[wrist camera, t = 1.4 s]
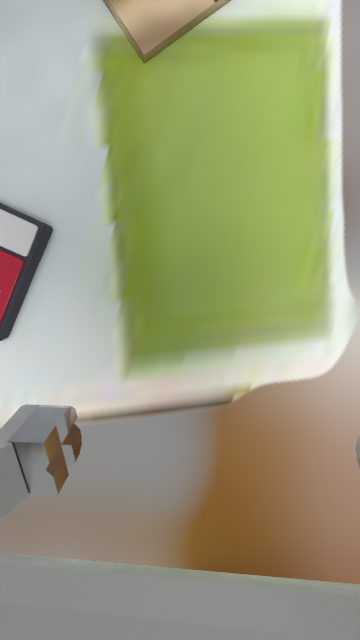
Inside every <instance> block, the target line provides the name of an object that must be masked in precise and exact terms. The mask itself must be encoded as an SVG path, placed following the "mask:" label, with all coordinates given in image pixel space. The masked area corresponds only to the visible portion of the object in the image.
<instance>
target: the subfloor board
mask: <svg viewBox="0 0 360 640" xmlns="http://www.w3.org/2000/svg"><path fill="white" fill-rule="evenodd" d="M103 1H104V2H105V4H106V5H107V7H108V8H109V10H110V12H111V13H112V15H113V16H114V18H115V19H116V21H117V22H118V24H119V25H120V27H121V28H122V30H123V32H124V33H125V35H126V36H127V38H128V39H129V41H130V42H131V44H132V45H133V47H134V48H135V50H136V51H137V53H138V55H139V56H140V58H141V59H142V61H143V62H144V63H145V62H147V61H148V60H149V59H151V58H152V57H153V56H155V55H156V54H158V53H159V52H160V51H162V50H163V49H164V48H166V47H167V46H169V45H170V44H171V43H173V42H174V41H175V40H177V39H178V38H179V37H181V36H182V35H184V34H185V33H186V32H188V31H189V30H190V29H192V28H193V27H195V26H196V25H197V24H199V23H200V22H201V21H203V20H204V19H206V18H207V17H208V16H210V15H211V14H212V13H214V12H215V11H217V10H218V9H219V8H221V7H222V6H223V5H225V4H226V3H228V2H229V1H230V0H116V1H114V0H103Z"/></svg>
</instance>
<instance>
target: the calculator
mask: <svg viewBox="0 0 360 640" xmlns="http://www.w3.org/2000/svg"><path fill="white" fill-rule="evenodd" d="M51 233H52V227H51V226H49V225H47V224H44V223H42V222H40V221H38V220H36V219H34V218H31V217H29V216H27V215H25V214H23V213H21V212H18V211H16V210H14V209H12V208H10V207H7V206H5V205H3V204H1V203H0V341H2V340H4V339H5V338H7V337H8V336H9V334H10V332H11V330H12V327H13V325H14V322H15V320H16V318H17V315H18V313H19V310H20V308H21V305H22V303H23V300H24V298H25V295H26V293H27V290H28V288H29V285H30V283H31V280H32V278H33V275H34V273H35V270H36V268H37V265H38V263H39V261H40V260H41V257H42V255H43V253H44V250H45V248H46V245H47V243H48V240H49V238H50V236H51Z"/></svg>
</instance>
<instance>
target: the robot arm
mask: <svg viewBox="0 0 360 640" xmlns="http://www.w3.org/2000/svg"><path fill="white" fill-rule="evenodd" d="M76 419H77V414H76V410H75V408H73V407H72V406H54V405H24V406H21V407H20V408H19V410H18V411H17V412H16V413H15V414H14V415H13V416H12V417H11V418H10V419H9V421H8V422H7V423H6V424H5V425H4V426H3V427H2V428H1V429H0V520H1V519H2V518H3V517H4V516H6V515H7V514H8V513H9V512H10V511H12V510H13V509H14V508H15V507H16V506H18V505H19V504H20V503H21V502H22V501H23V500H25V499H26V498H27V497H28V496H29V494H53V495H58V494H59V492H60V490H61V489H62V487H63V485H64V483H65V481H66V479H67V477H68V475H69V474H68V469H67V468H68V467H69V466H71V465H72V464H74V463H75V462H76V460H77V458H78V456H79V454H80V449H81V445H82V436H81V431H80V429H79V428H78V427H77V426H76V425H75V424H74V423H75V421H76ZM356 453H357V460H358V464H359V467H360V437H358V439H357V445H356ZM0 640H360V585H359V584H346V583H336V582H324V581H312V580H301V579H290V578H278V577H267V576H255V575H244V574H231V573H221V572H209V571H198V570H187V569H175V568H165V567H153V566H142V565H131V564H118V563H107V562H96V561H85V560H73V559H62V558H51V557H39V556H28V555H16V554H4V553H0Z"/></svg>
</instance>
